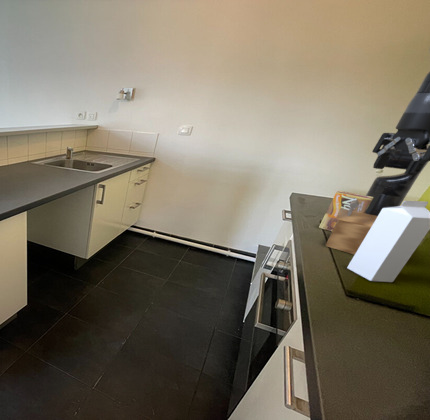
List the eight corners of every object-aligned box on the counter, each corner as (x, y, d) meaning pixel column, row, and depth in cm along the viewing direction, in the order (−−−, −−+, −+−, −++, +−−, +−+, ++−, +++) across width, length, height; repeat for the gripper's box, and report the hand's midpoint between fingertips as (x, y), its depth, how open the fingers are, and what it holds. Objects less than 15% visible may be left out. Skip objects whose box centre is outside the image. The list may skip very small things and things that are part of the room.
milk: (346, 268, 71) (387, 196, 63) (367, 269, 71) (411, 197, 63) (371, 281, 65) (420, 204, 57) (393, 282, 65) (446, 205, 57)
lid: (335, 218, 80) (343, 203, 78) (339, 210, 89) (347, 196, 87) (402, 235, 70) (413, 218, 68) (399, 223, 79) (409, 207, 77)
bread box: (325, 246, 83) (339, 219, 79) (329, 234, 92) (342, 210, 88) (383, 263, 74) (402, 235, 70) (382, 249, 83) (399, 223, 79)
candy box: (352, 234, 93) (374, 196, 87) (350, 237, 91) (372, 198, 85) (320, 225, 100) (338, 190, 94) (317, 227, 97) (336, 191, 92)
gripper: (482, 112, 58) (439, 178, 64) (413, 112, 71) (382, 167, 77) (444, 111, 59) (405, 176, 65) (382, 111, 72) (354, 165, 78)
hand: (392, 171), depth 71 cm, fingers open, 8 cm apart
